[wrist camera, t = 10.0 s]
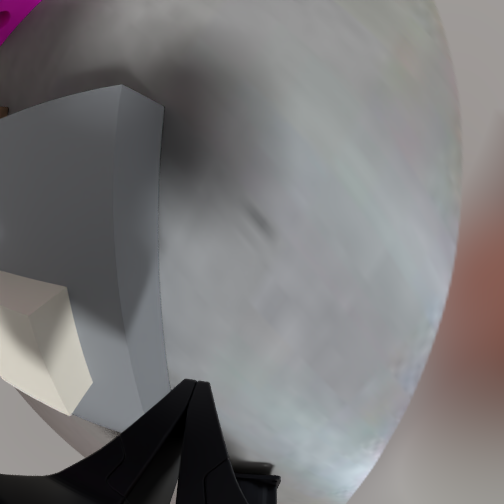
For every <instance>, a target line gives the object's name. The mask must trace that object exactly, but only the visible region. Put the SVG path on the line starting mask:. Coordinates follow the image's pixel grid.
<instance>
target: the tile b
mask: <svg viewBox="0 0 504 504" xmlns="http://www.w3.org/2000/svg"><path fill="white" fill-rule="evenodd" d="M0 376H1V378H2V379H3V380H5V381H6V382H8V383H9V384H11V385H12V386H14V387H16V388H17V389H19V390H21V391H22V392H24V393H26V394H27V395H29V396H31V397H33V398H35V399H36V400H38V401H40V402H42V403H44V404H46V405H48V406H50V407H52V408H54V409H56V410H58V411H60V412H62V413H64V414H66V415H68V416H71V414H72V413H73V411H74V410H75V408H76V407H77V405H78V404H79V402H80V401H81V399H82V398H83V396H84V395H85V393H86V392H87V390H88V389H89V387H90V386H91V385H92V383H93V382H92V379H91V376H90V373H89V370H88V367H87V364H86V361H85V358H84V355H83V352H82V348H81V345H80V341H79V338H78V334H77V330H76V326H75V322H74V318H73V314H72V310H71V305H70V300H69V295H68V290H67V287H65V286H60V285H56V284H51V283H47V282H43V281H39V280H34V279H30V278H26V277H22V276H19V275H15V274H11V273H7V272H4V271H0Z"/></svg>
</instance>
